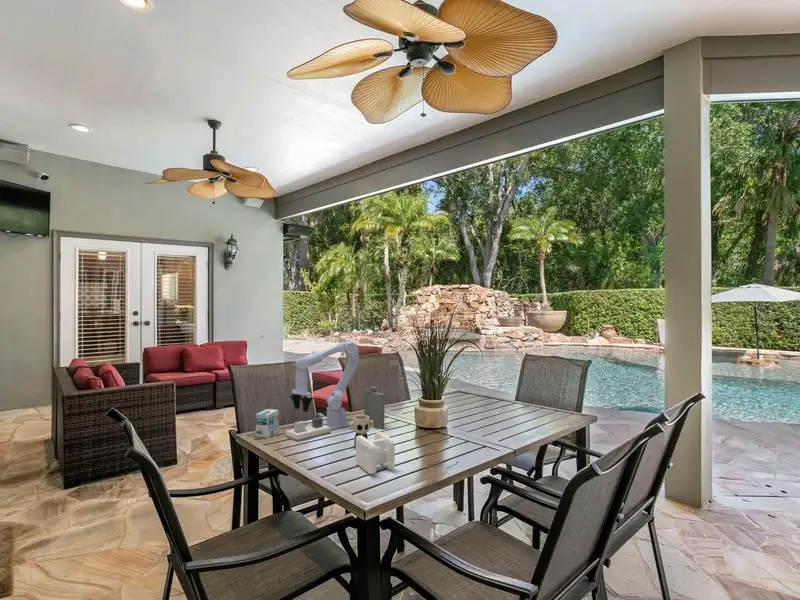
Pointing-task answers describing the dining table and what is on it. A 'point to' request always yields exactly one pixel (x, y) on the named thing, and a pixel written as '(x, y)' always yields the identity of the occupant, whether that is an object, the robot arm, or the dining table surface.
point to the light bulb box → (267, 423)
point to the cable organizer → (375, 452)
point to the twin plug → (317, 422)
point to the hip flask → (374, 407)
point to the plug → (300, 427)
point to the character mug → (360, 426)
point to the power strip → (308, 433)
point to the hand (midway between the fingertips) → (301, 410)
